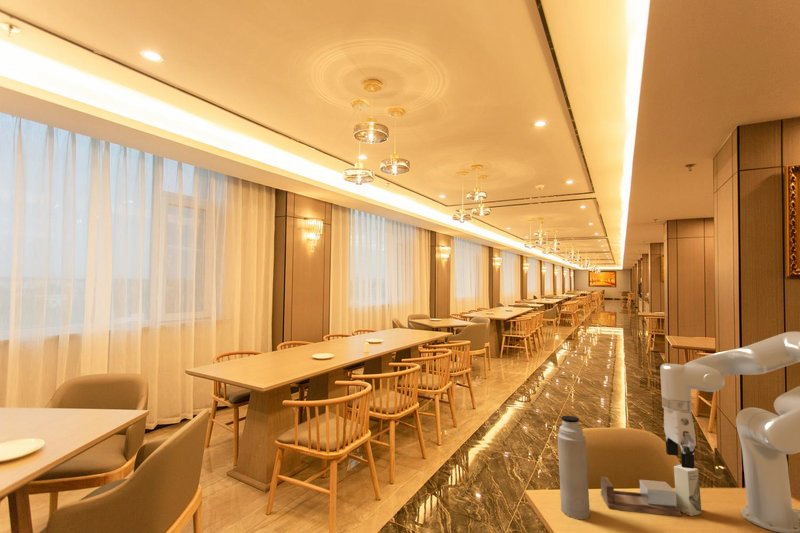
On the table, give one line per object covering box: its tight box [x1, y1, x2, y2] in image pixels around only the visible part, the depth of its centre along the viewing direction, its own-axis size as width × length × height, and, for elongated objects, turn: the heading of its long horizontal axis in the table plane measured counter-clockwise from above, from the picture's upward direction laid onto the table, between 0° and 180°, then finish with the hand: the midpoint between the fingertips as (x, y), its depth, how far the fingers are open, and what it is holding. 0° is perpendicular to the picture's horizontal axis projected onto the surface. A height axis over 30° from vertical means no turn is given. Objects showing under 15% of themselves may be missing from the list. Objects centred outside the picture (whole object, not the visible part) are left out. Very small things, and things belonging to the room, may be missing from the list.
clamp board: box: [600, 476, 682, 517], centre depth 117 cm, size 20×8×6 cm, turn 76°
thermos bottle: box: [556, 415, 590, 520], centre depth 115 cm, size 8×8×28 cm
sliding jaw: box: [639, 479, 677, 508], centre depth 116 cm, size 8×6×5 cm
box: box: [673, 464, 702, 517], centre depth 114 cm, size 5×4×13 cm
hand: (679, 461), depth 115 cm, fingers open, 9 cm apart
